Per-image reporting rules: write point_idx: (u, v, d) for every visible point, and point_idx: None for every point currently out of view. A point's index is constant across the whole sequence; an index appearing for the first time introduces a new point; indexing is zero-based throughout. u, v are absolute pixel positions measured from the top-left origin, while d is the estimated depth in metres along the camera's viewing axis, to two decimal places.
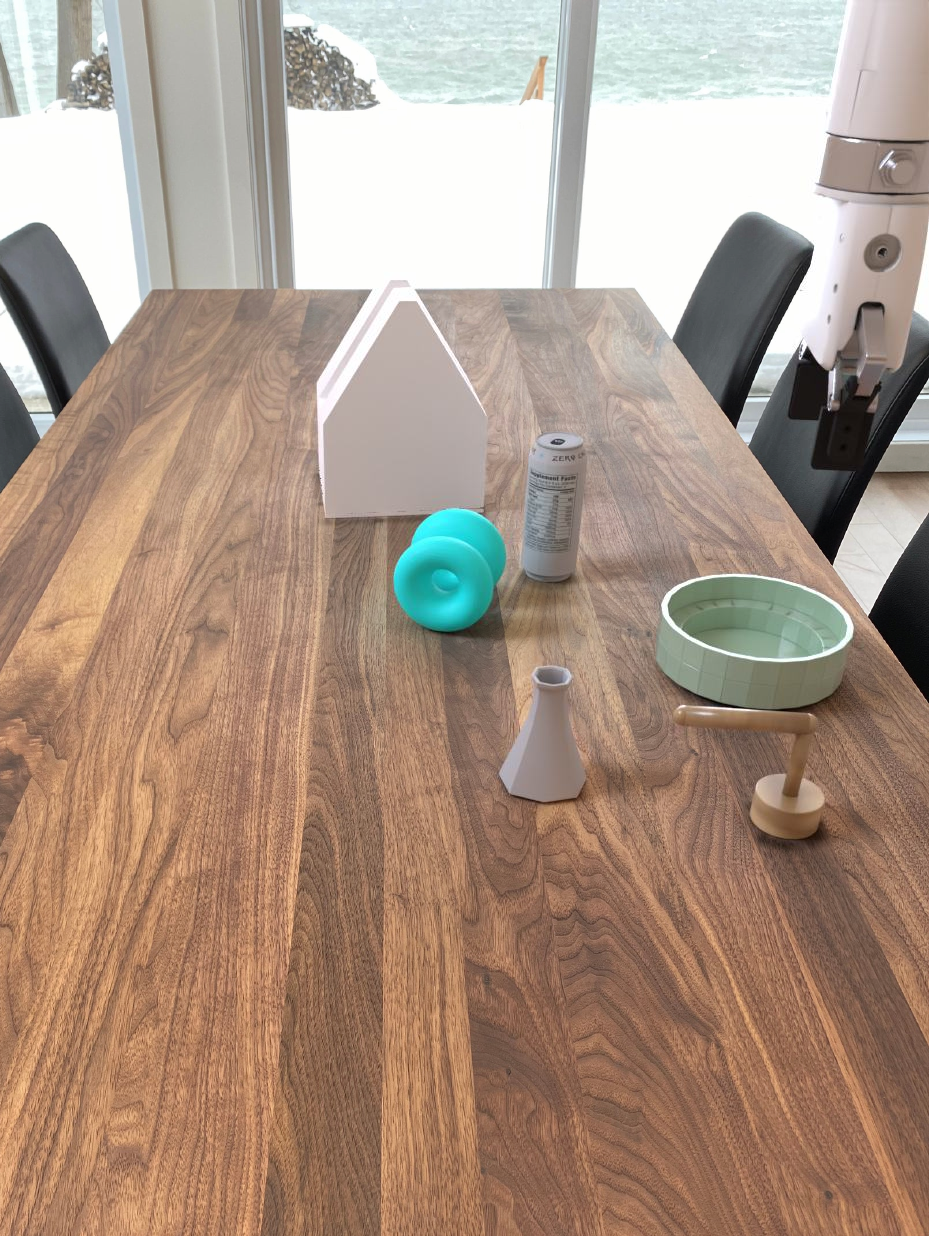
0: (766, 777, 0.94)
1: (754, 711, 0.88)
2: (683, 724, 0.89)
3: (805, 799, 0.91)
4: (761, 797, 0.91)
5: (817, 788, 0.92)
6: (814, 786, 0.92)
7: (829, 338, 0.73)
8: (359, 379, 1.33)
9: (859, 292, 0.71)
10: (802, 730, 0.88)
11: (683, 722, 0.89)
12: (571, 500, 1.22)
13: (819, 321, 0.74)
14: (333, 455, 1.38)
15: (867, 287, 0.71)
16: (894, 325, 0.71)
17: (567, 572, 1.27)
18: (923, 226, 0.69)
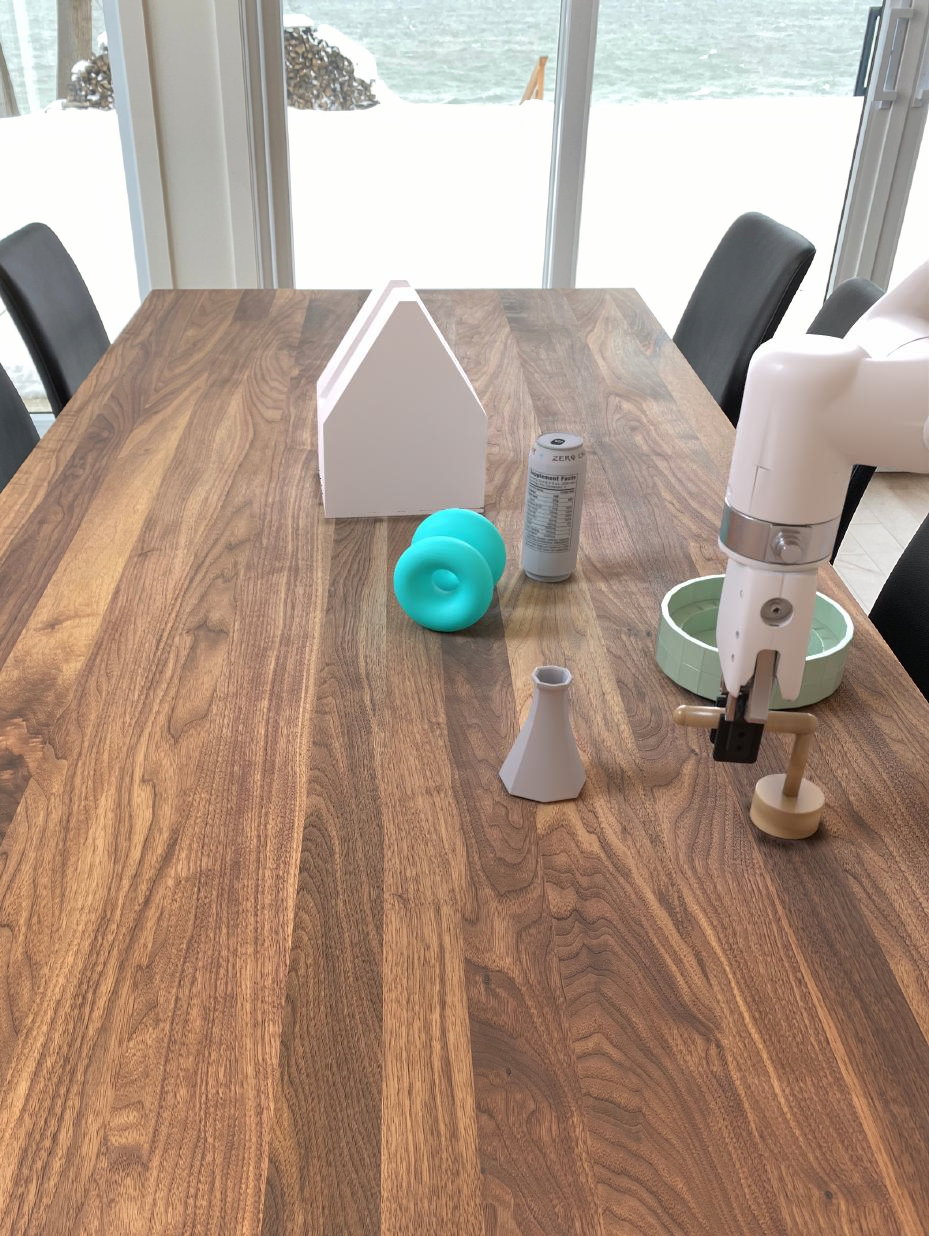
0: (766, 777, 0.94)
1: None
2: (683, 724, 0.89)
3: (805, 799, 0.91)
4: (761, 798, 0.91)
5: (817, 788, 0.92)
6: (814, 786, 0.92)
7: (733, 674, 0.82)
8: (359, 379, 1.33)
9: (757, 641, 0.80)
10: (802, 730, 0.88)
11: (683, 722, 0.89)
12: (571, 500, 1.22)
13: (726, 652, 0.83)
14: (333, 455, 1.38)
15: (764, 638, 0.79)
16: (789, 668, 0.80)
17: (567, 572, 1.27)
18: (811, 592, 0.78)
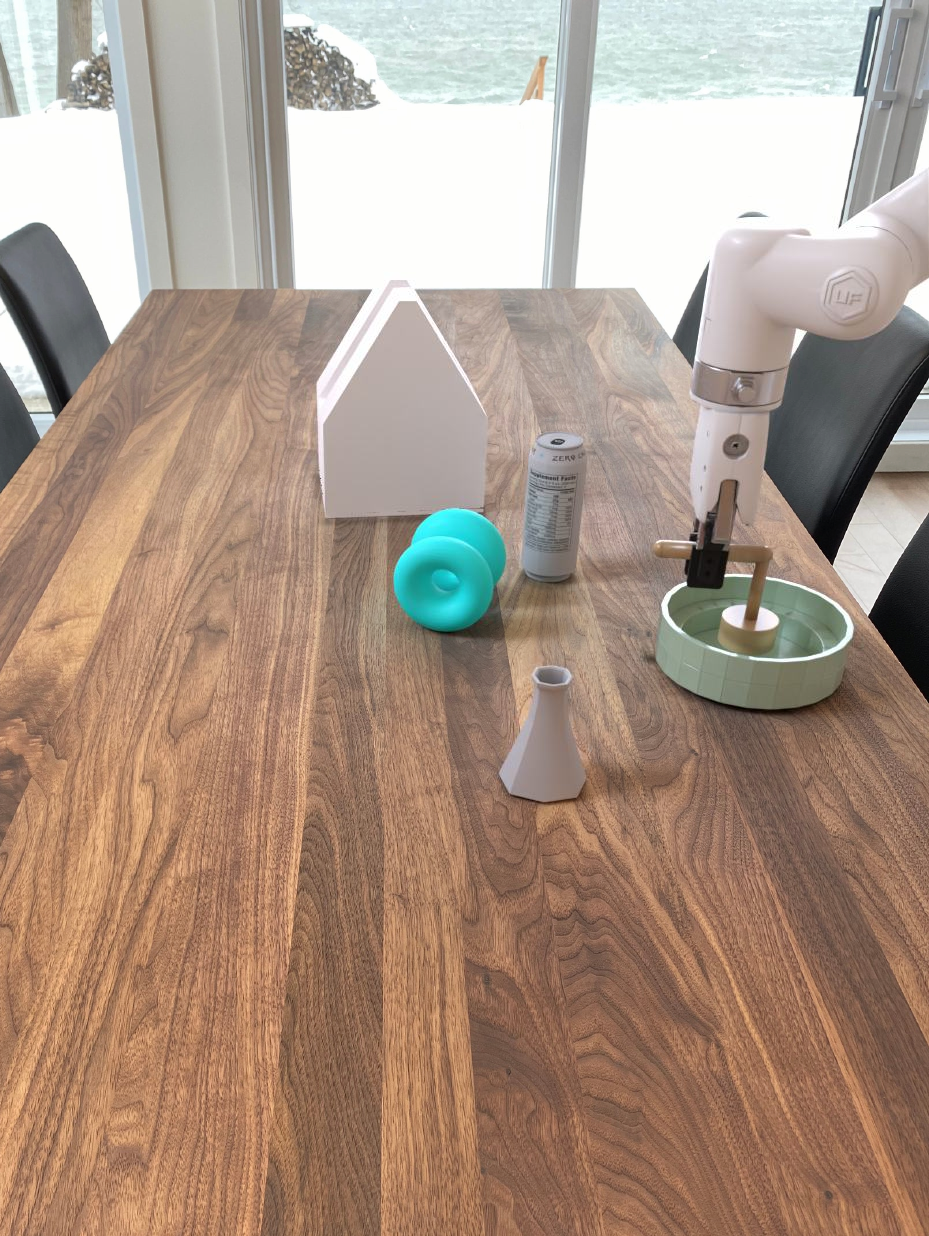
0: (731, 607, 1.12)
1: None
2: (661, 555, 1.07)
3: (762, 622, 1.09)
4: (726, 621, 1.09)
5: (773, 615, 1.10)
6: (770, 613, 1.11)
7: (701, 502, 1.00)
8: (359, 379, 1.33)
9: (721, 472, 0.98)
10: (760, 559, 1.06)
11: (661, 553, 1.07)
12: (571, 500, 1.22)
13: (696, 487, 1.01)
14: (333, 455, 1.38)
15: (726, 469, 0.97)
16: (747, 495, 0.98)
17: (567, 572, 1.27)
18: (764, 429, 0.96)
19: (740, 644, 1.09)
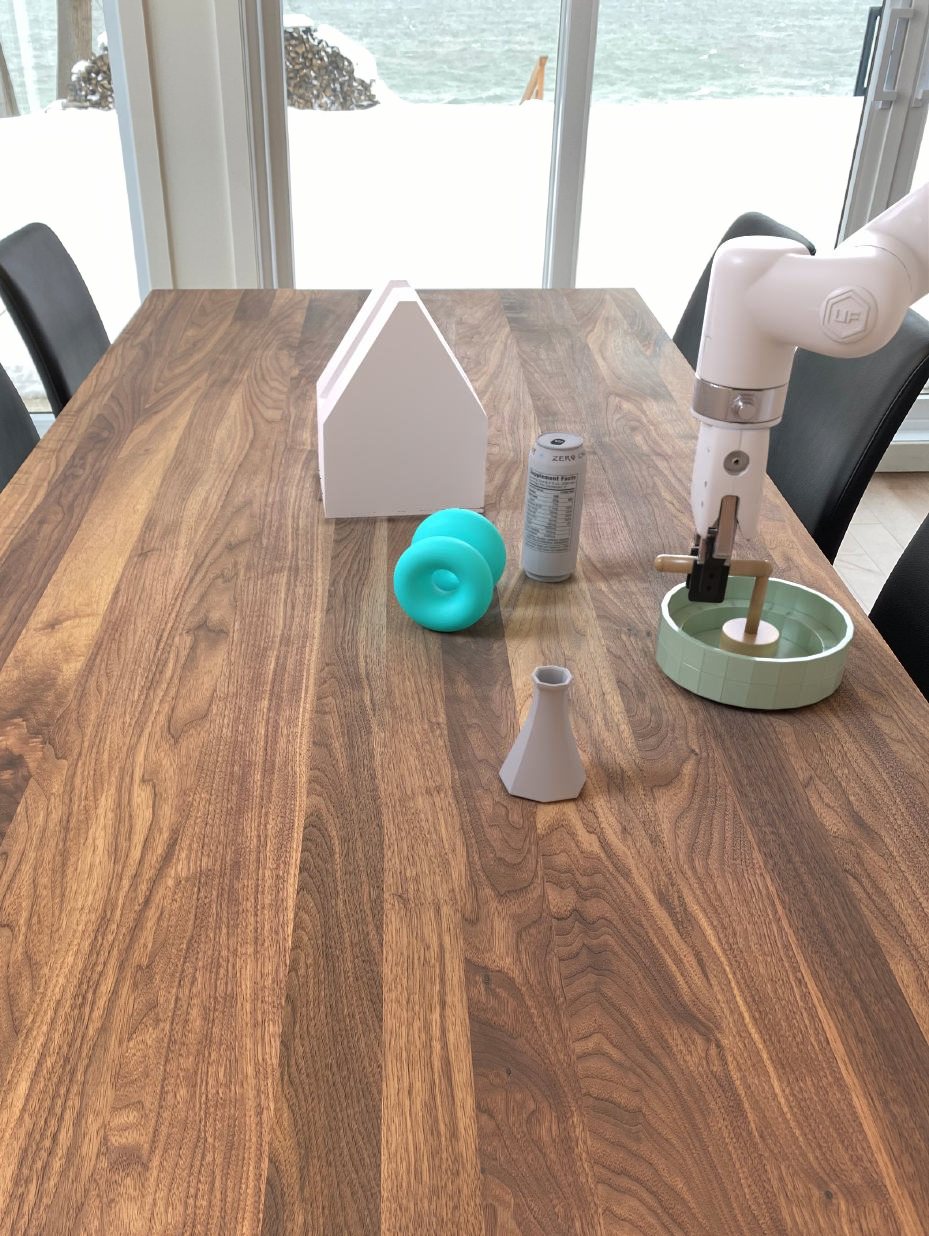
0: (731, 620, 1.12)
1: None
2: (662, 570, 1.08)
3: (763, 635, 1.10)
4: (726, 634, 1.10)
5: (773, 628, 1.11)
6: (771, 626, 1.11)
7: (702, 518, 1.00)
8: (359, 379, 1.33)
9: (721, 488, 0.98)
10: (760, 573, 1.07)
11: (662, 568, 1.08)
12: (571, 500, 1.22)
13: (697, 503, 1.02)
14: (333, 456, 1.38)
15: (727, 485, 0.98)
16: (747, 511, 0.99)
17: (567, 572, 1.27)
18: (764, 445, 0.97)
19: None
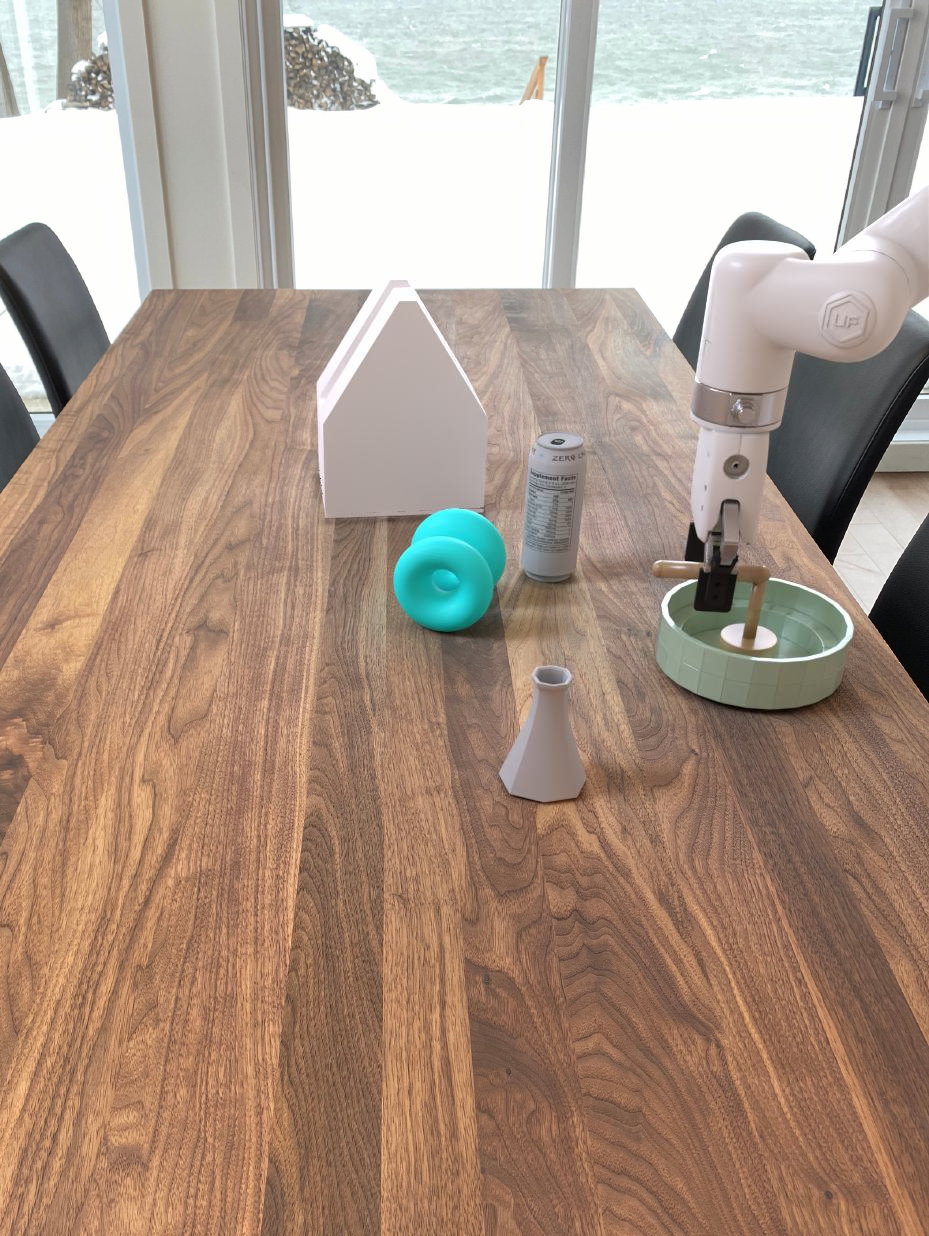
0: (729, 625, 1.13)
1: None
2: (660, 575, 1.08)
3: (761, 640, 1.10)
4: (725, 639, 1.11)
5: (771, 633, 1.12)
6: (769, 632, 1.12)
7: (702, 522, 1.01)
8: (359, 379, 1.33)
9: (721, 492, 0.99)
10: (757, 579, 1.07)
11: (660, 574, 1.08)
12: (571, 500, 1.22)
13: (697, 506, 1.02)
14: (333, 455, 1.38)
15: (727, 489, 0.98)
16: (747, 515, 0.99)
17: (567, 572, 1.27)
18: (764, 449, 0.97)
19: None
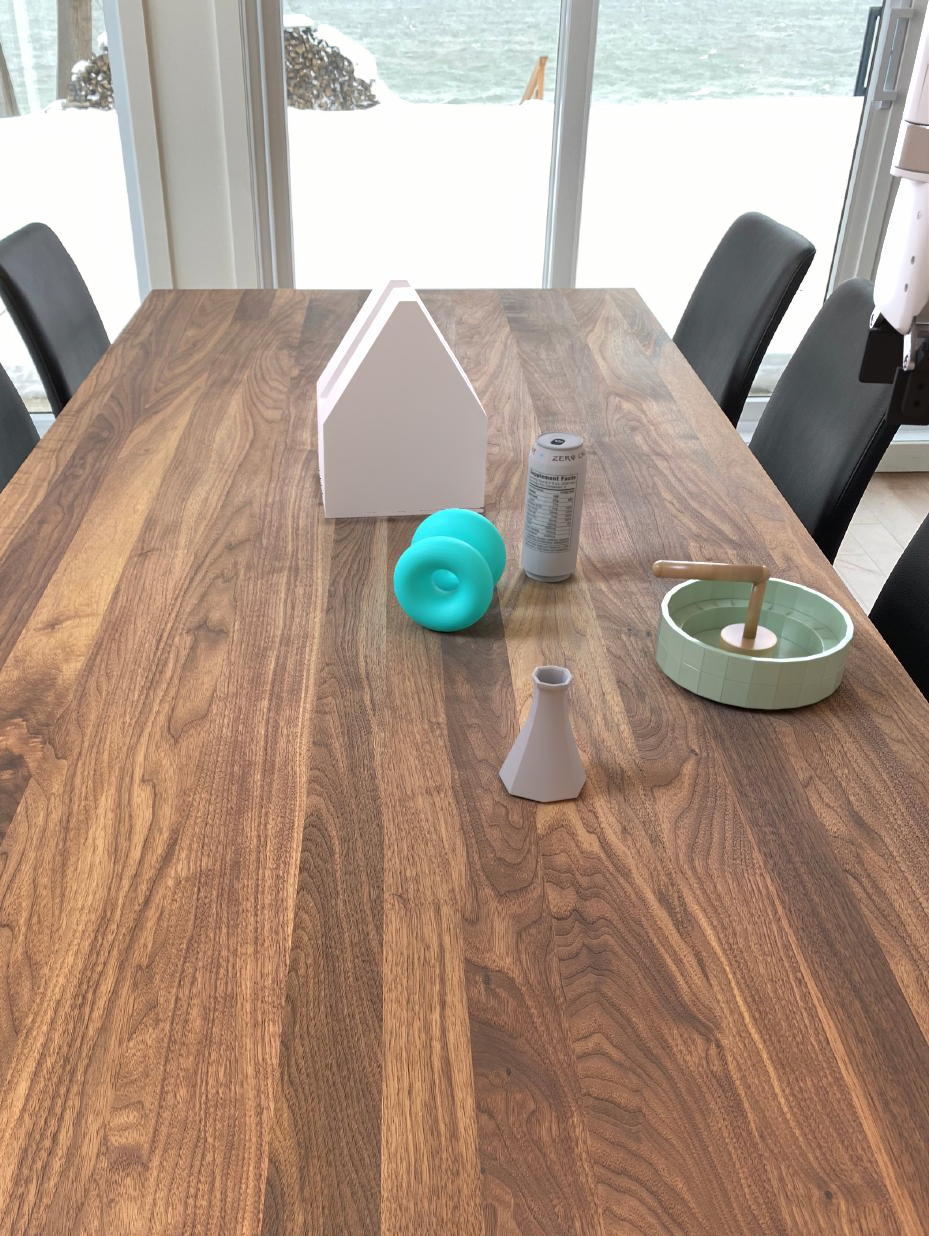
0: (729, 625, 1.13)
1: (718, 564, 1.08)
2: (660, 575, 1.08)
3: (761, 640, 1.10)
4: (725, 639, 1.11)
5: (771, 633, 1.12)
6: (769, 632, 1.12)
7: (906, 305, 0.82)
8: (359, 379, 1.33)
9: None
10: (757, 579, 1.07)
11: (660, 573, 1.08)
12: (571, 500, 1.22)
13: (896, 290, 0.83)
14: (333, 455, 1.38)
15: None
16: None
17: (567, 572, 1.27)
18: None
19: None
